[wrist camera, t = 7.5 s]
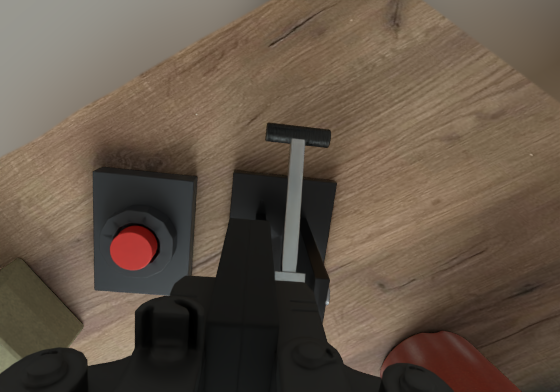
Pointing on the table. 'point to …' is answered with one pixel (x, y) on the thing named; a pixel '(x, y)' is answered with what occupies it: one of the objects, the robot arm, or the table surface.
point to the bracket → (271, 207)
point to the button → (133, 247)
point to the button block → (147, 213)
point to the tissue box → (31, 316)
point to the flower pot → (451, 362)
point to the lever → (294, 189)
